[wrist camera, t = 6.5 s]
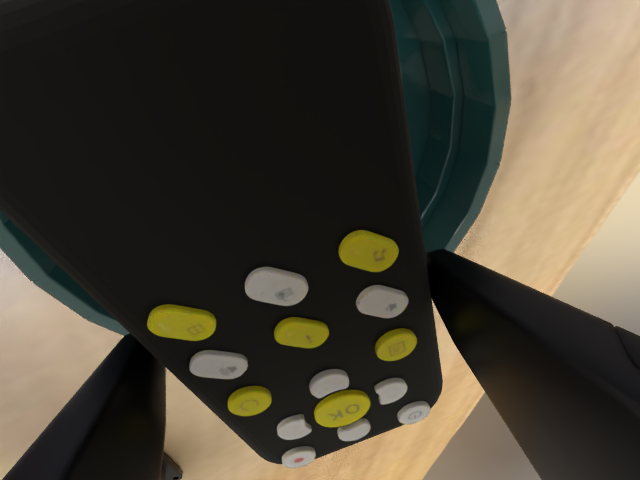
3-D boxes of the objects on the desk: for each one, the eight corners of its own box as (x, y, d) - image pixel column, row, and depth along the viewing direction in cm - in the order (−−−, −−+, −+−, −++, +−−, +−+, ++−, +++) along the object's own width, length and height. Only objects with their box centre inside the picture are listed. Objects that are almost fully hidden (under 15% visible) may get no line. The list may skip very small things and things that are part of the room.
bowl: (434, 247, 21) (477, 298, 17) (153, 324, 19) (136, 397, 16) (459, -178, 11) (577, -270, 7) (-130, -84, 9) (-360, -139, 6)
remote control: (340, -111, 5) (394, -167, 3) (426, 364, 12) (455, 417, 11) (-69, 43, 5) (-220, 63, 3) (268, 425, 12) (274, 487, 11)
